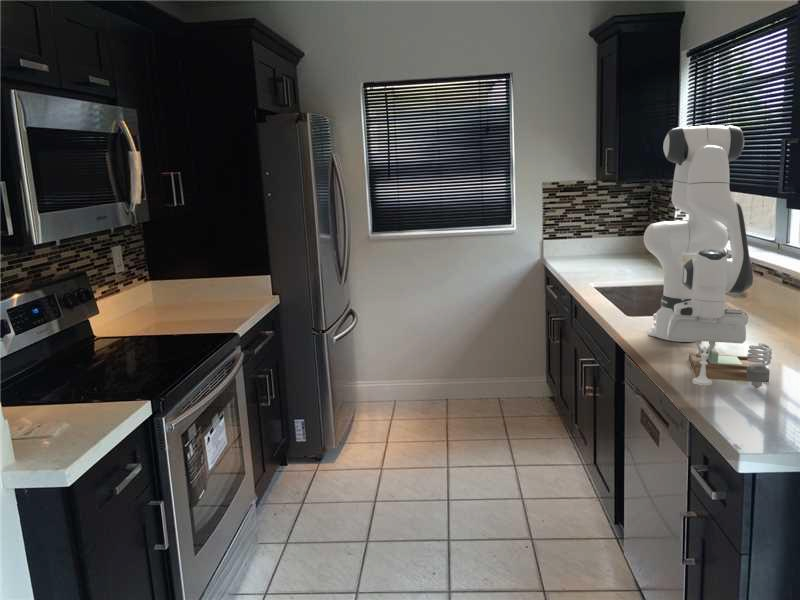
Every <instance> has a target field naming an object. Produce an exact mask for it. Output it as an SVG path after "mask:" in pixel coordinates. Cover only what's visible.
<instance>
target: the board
mask: <svg viewBox="0 0 800 600" xmlns="http://www.w3.org/2000/svg"><path fill="white" fill-rule="evenodd" d="M719 355H720V356H733V354H732V355H730V354H729V355H728V354H719ZM736 356H737V357H738V359H739V360H740V362H741V363H742V365H728V364H713V363H709V361H708V359H707V360H706V362H708V364H706V377H707V378H708V379H710V380H722V381H723V380H725V381H738V382H750V383H752V382H751V380H749V379H747V371H746V370H747V367H748V366H752V365H753V364H762V363H757V362H750V361H748V360H747V359H748V358H750V357H748V356H745V355H736ZM757 359H759V358H757ZM700 361H702V359H701V356H699V355H698V353H696V352H695V353H694V352H689V354H688V363H689V362H690V363H689V365H690V364H691V365H690V368H691V370H692V369H693V370H692V371H694V372H693V374H694V373H695V374H694V375H695V376H694V377H695V378H696V377H698V376H699V375H700V371H701V366H702V364H700ZM770 375H771V373H769V376H770ZM765 382H766V383H767V382H768V383H770V377H769V378H768V380H767V381H765ZM765 382H764V383H765ZM768 383H767V384H768Z"/></svg>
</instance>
